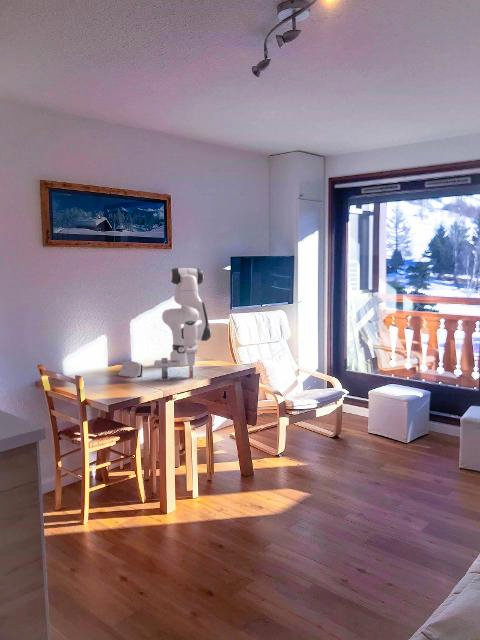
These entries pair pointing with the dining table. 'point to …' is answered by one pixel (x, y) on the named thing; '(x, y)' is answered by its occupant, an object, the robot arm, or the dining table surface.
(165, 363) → the grey t-bar
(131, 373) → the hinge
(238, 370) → the dining table surface
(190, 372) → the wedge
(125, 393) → the dining table surface
